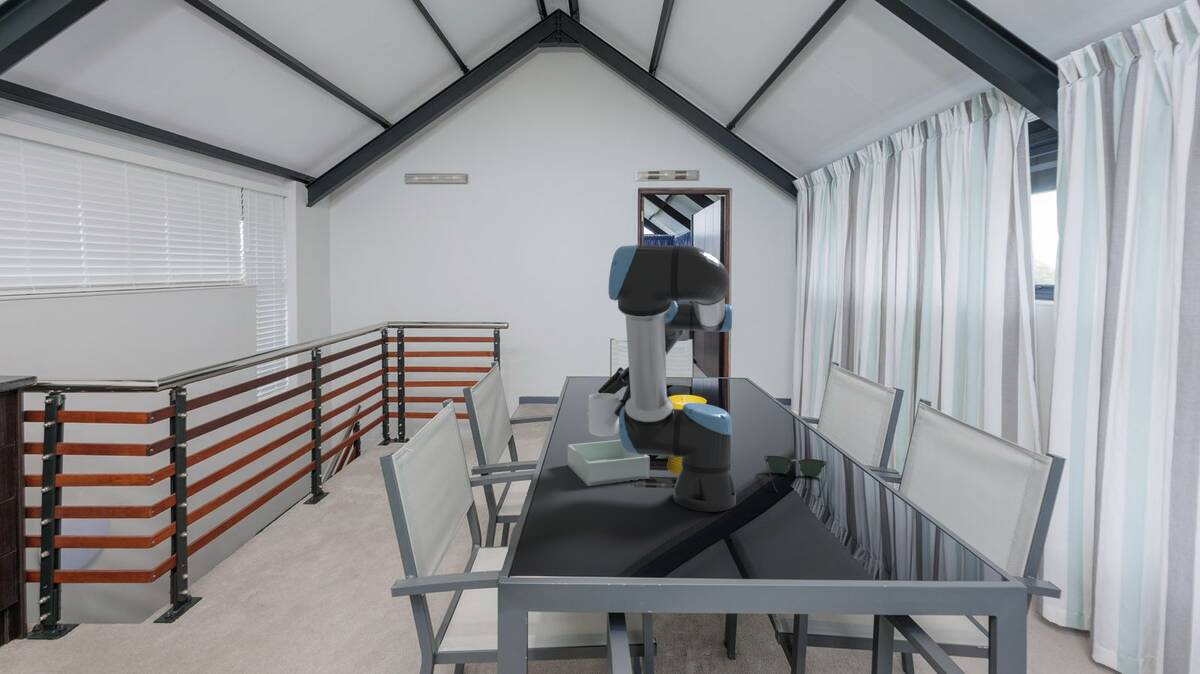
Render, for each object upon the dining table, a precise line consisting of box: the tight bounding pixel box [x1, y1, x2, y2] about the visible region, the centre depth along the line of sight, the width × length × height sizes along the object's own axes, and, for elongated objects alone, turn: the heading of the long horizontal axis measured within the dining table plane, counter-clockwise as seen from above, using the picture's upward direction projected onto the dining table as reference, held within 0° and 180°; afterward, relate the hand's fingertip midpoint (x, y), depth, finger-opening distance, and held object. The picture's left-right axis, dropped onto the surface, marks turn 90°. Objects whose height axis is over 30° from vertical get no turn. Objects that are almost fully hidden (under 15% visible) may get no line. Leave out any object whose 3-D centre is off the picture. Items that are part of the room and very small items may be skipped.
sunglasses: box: [764, 455, 828, 498], centre depth 156 cm, size 16×17×5 cm
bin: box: [566, 439, 651, 487], centre depth 164 cm, size 18×18×6 cm
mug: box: [588, 392, 622, 437], centre depth 162 cm, size 12×8×10 cm
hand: (598, 419), depth 162 cm, fingers closed on mug, 9 cm apart
